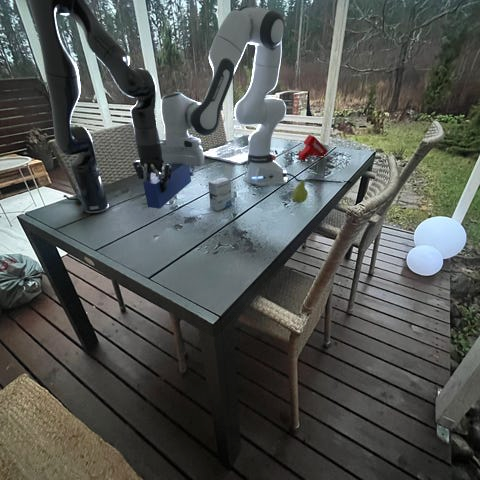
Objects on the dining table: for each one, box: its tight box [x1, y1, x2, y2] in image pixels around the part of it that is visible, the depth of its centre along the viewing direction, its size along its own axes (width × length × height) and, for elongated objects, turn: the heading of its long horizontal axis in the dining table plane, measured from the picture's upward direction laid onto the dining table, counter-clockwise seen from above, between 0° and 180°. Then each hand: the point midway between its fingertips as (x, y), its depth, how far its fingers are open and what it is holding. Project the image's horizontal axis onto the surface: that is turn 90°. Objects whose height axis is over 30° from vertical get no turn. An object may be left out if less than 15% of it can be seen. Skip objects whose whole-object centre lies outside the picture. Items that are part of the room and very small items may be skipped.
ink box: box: [207, 177, 232, 212], centre depth 115 cm, size 8×5×12 cm, turn 134°
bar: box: [142, 163, 192, 210], centre depth 105 cm, size 27×5×9 cm, turn 165°
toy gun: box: [297, 134, 328, 162], centre depth 175 cm, size 18×4×15 cm
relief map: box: [203, 141, 249, 165], centre depth 185 cm, size 27×35×5 cm
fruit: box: [291, 174, 311, 204], centre depth 118 cm, size 7×8×12 cm
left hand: (156, 190), depth 97 cm, fingers closed on bar, 4 cm apart
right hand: (181, 174), depth 113 cm, fingers open, 8 cm apart
